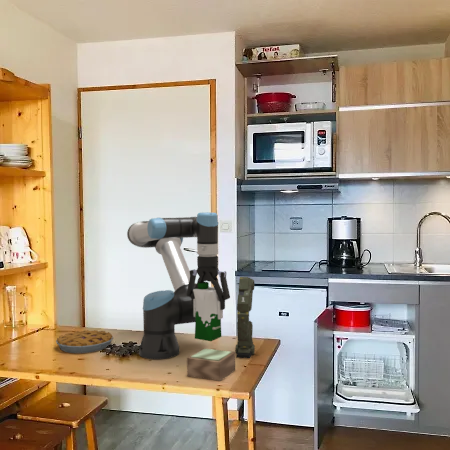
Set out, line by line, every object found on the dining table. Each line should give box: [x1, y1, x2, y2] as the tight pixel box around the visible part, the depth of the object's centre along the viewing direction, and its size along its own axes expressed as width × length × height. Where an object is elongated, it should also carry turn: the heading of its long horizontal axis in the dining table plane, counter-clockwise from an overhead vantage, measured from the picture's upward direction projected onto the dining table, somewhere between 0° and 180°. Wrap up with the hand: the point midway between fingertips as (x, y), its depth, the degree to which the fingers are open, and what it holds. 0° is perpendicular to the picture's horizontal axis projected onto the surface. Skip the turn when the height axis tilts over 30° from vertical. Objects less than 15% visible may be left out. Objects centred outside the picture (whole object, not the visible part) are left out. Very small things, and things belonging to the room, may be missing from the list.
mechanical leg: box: [234, 276, 256, 359], centre depth 194 cm, size 14×7×30 cm, turn 168°
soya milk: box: [193, 281, 222, 342], centre depth 185 cm, size 9×9×20 cm
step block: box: [186, 348, 236, 382], centre depth 172 cm, size 12×12×6 cm
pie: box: [55, 329, 114, 354], centre depth 205 cm, size 22×22×5 cm
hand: (208, 317), depth 185 cm, fingers closed on soya milk, 9 cm apart
